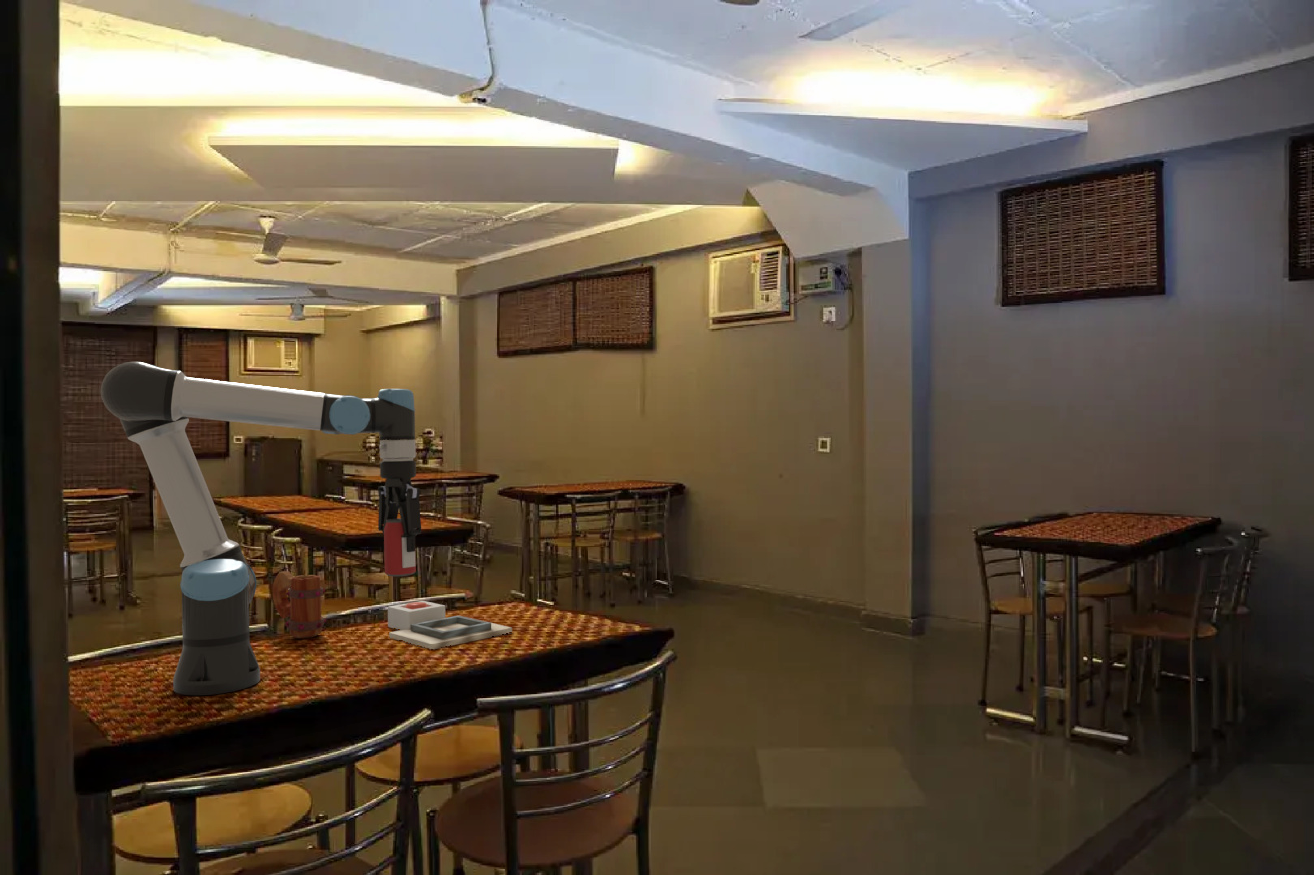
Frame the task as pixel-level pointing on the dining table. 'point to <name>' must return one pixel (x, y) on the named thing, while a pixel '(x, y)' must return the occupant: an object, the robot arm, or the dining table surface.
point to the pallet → (449, 632)
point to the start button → (415, 605)
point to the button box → (413, 615)
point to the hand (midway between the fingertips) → (400, 565)
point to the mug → (299, 603)
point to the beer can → (395, 549)
